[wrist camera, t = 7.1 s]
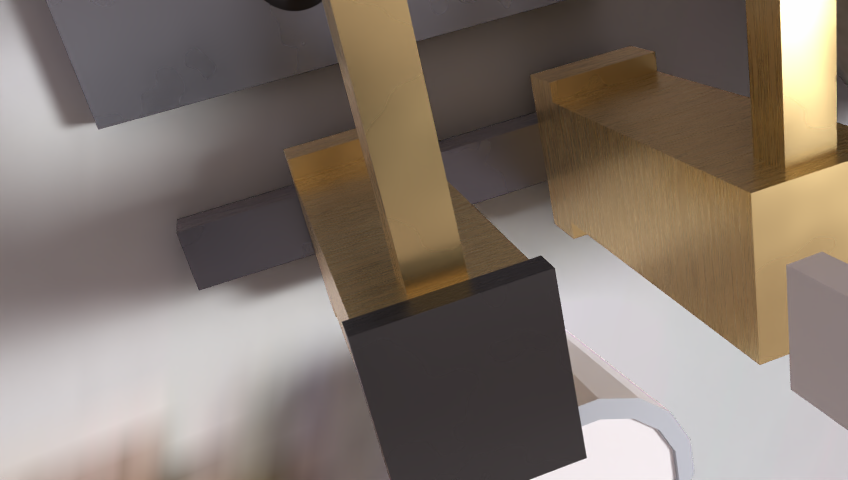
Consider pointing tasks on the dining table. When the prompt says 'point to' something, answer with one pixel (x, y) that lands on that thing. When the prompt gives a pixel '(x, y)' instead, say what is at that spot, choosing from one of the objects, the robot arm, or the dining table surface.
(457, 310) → the sliding leg
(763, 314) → the fixed leg
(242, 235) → the rail
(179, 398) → the dining table surface
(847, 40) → the bowl
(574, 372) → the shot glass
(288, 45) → the hole plate
